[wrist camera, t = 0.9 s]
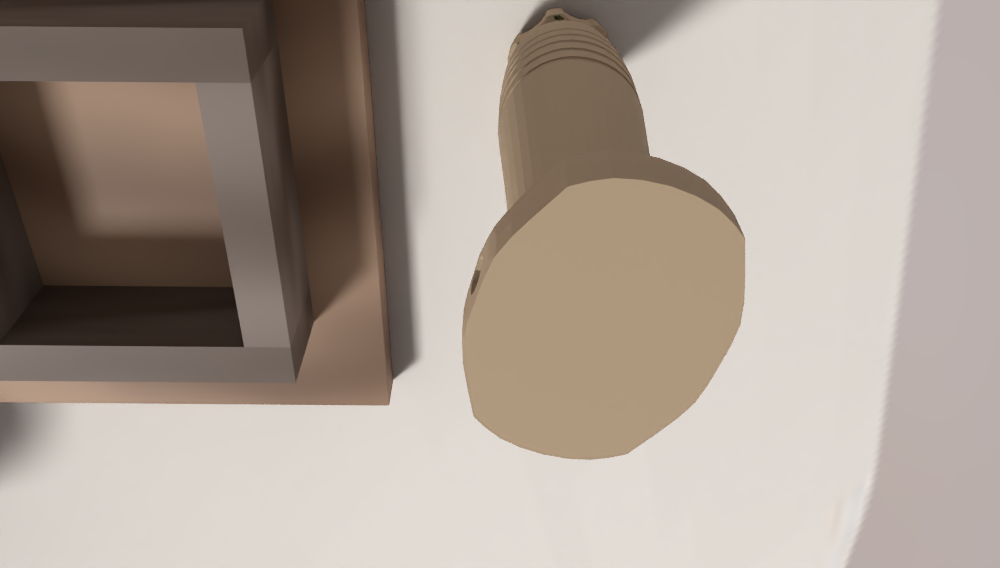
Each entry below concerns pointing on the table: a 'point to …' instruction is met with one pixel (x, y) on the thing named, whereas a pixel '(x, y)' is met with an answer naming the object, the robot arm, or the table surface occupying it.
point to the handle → (593, 261)
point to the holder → (190, 204)
